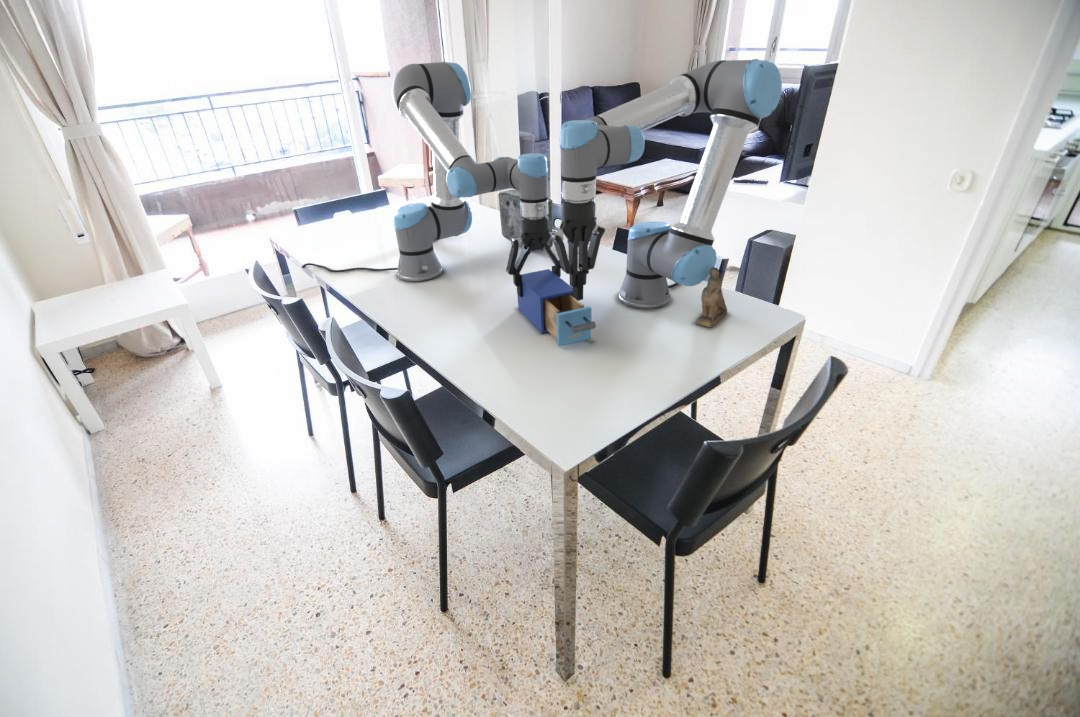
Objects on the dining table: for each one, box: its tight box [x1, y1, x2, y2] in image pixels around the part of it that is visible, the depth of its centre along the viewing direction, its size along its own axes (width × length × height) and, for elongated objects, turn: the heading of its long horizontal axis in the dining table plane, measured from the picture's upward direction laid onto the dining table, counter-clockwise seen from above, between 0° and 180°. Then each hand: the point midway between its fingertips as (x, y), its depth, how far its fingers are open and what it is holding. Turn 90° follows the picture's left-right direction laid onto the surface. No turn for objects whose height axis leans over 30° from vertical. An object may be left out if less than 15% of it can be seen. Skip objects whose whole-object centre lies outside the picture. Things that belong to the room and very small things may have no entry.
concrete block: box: [497, 189, 554, 252], centre depth 191 cm, size 27×9×20 cm, turn 36°
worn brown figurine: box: [695, 266, 728, 328], centre depth 135 cm, size 12×6×18 cm, turn 136°
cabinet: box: [516, 268, 573, 334], centre depth 141 cm, size 18×10×11 cm, turn 23°
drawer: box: [543, 294, 597, 348], centre depth 131 cm, size 22×9×9 cm, turn 23°
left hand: (537, 291), depth 145 cm, fingers closed on cabinet, 10 cm apart
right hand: (577, 297), depth 121 cm, fingers closed
